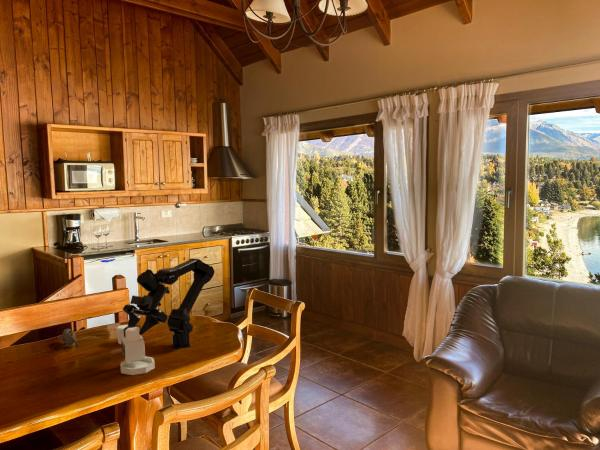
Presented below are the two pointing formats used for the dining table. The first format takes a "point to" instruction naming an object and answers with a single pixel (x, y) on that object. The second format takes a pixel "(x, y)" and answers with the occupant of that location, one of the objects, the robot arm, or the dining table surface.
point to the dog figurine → (68, 337)
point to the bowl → (138, 366)
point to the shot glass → (120, 332)
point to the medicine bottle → (132, 344)
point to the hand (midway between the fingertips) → (133, 333)
